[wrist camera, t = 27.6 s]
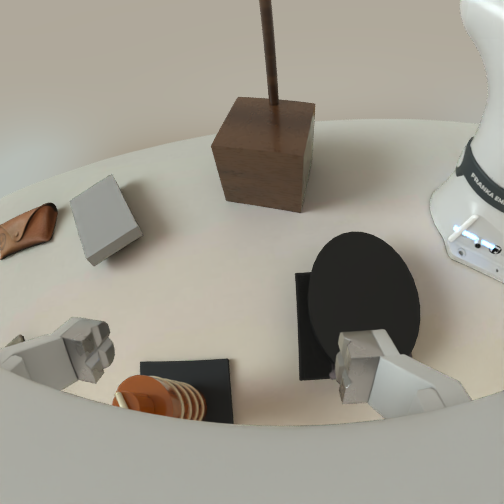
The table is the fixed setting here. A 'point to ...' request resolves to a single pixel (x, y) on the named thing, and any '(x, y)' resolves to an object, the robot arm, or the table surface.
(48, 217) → the sunglasses case
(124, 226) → the grey rectangular block
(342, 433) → the robot arm
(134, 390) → the brown banded bottle
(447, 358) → the table surface
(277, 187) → the hanger rack
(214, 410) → the rubber mat
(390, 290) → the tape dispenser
